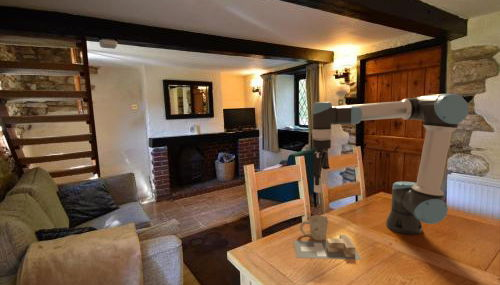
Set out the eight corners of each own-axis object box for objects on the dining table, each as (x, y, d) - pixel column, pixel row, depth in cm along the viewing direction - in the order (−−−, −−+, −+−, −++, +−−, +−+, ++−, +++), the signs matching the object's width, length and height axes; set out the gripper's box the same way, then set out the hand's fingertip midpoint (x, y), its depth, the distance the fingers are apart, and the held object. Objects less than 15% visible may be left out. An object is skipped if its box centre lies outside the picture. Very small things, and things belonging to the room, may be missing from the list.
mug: (328, 245, 112) (329, 224, 111) (299, 243, 115) (299, 221, 113) (326, 236, 120) (327, 215, 119) (299, 233, 123) (299, 214, 121)
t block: (347, 243, 111) (347, 234, 110) (355, 257, 101) (355, 247, 100) (325, 243, 112) (325, 234, 111) (330, 256, 102) (330, 247, 101)
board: (351, 245, 112) (351, 241, 112) (361, 263, 99) (361, 259, 99) (293, 243, 114) (293, 240, 114) (296, 261, 101) (296, 257, 101)
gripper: (319, 135, 121) (319, 178, 124) (304, 142, 99) (304, 195, 102) (336, 135, 118) (335, 180, 121) (324, 143, 96) (323, 198, 99)
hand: (321, 187), depth 111 cm, fingers open, 13 cm apart
